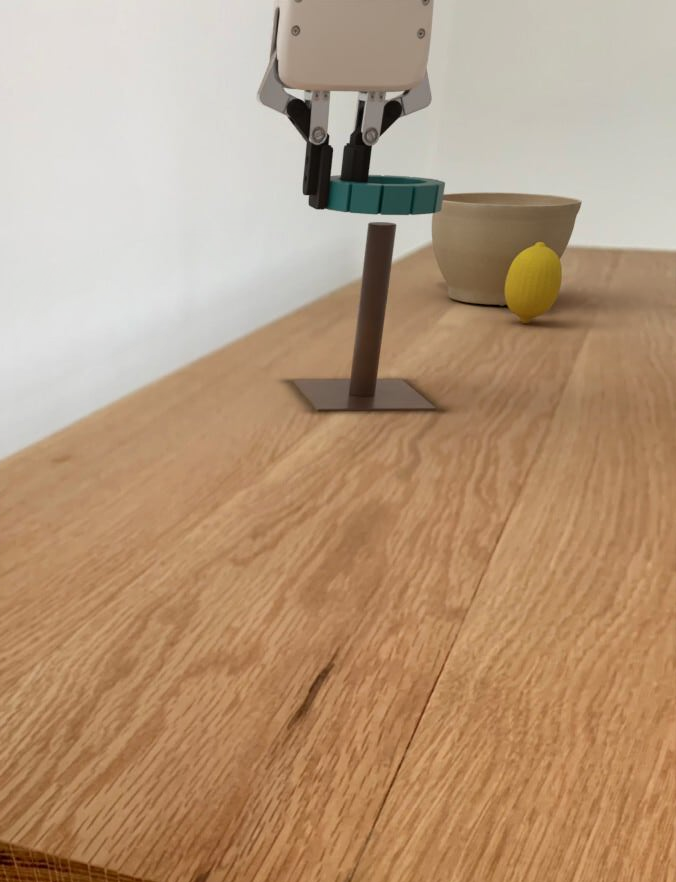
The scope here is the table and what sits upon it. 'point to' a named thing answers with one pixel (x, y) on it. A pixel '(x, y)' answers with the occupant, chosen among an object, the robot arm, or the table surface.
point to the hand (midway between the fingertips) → (332, 205)
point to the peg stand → (368, 343)
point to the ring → (386, 195)
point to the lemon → (533, 282)
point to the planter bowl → (495, 238)
